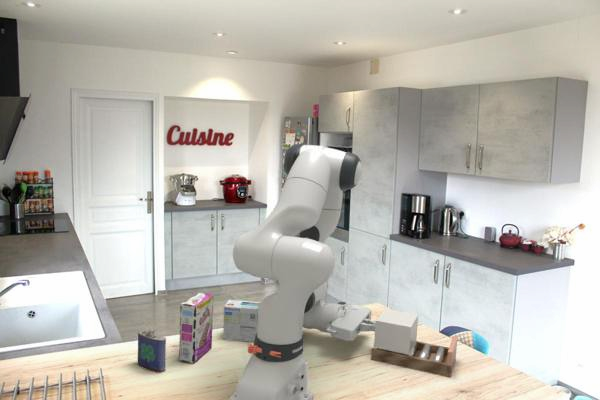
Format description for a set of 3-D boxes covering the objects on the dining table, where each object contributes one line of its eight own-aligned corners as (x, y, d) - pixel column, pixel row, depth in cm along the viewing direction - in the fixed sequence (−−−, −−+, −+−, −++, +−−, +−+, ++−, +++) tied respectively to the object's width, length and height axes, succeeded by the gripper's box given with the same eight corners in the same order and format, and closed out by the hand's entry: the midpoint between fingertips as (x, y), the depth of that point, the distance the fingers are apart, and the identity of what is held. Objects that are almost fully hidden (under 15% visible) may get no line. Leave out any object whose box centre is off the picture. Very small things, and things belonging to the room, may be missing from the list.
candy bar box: (194, 364, 135) (195, 306, 133) (178, 361, 137) (178, 303, 135) (213, 348, 146) (214, 294, 144) (197, 345, 147) (198, 291, 145)
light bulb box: (261, 334, 158) (262, 301, 156) (257, 342, 151) (258, 308, 150) (227, 331, 159) (228, 298, 157) (222, 340, 152) (223, 305, 151)
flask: (167, 369, 132) (167, 331, 130) (159, 374, 129) (159, 334, 128) (142, 361, 136) (142, 323, 135) (134, 365, 134) (133, 326, 132)
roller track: (370, 359, 143) (372, 336, 142) (381, 344, 154) (382, 322, 153) (450, 377, 134) (452, 352, 133) (455, 359, 145) (457, 336, 144)
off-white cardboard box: (373, 347, 143) (375, 320, 142) (383, 333, 153) (385, 308, 152) (408, 354, 139) (410, 327, 138) (416, 340, 149) (418, 314, 148)
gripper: (322, 320, 143) (369, 329, 137) (344, 299, 161) (387, 307, 156) (321, 341, 144) (367, 351, 138) (343, 318, 162) (385, 326, 157)
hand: (378, 327), depth 147 cm, fingers closed
